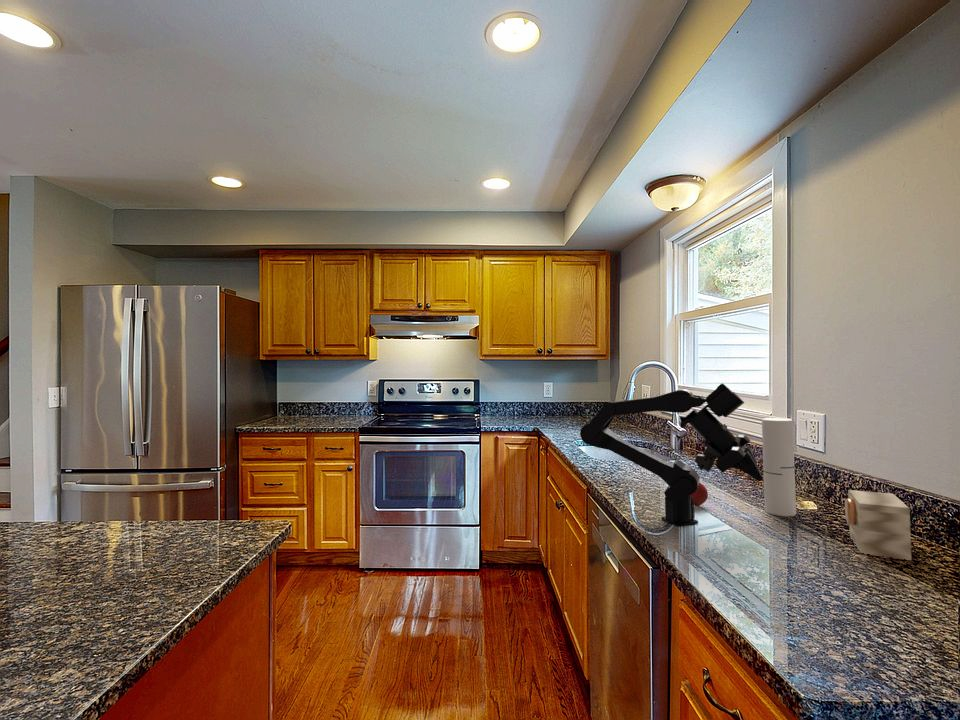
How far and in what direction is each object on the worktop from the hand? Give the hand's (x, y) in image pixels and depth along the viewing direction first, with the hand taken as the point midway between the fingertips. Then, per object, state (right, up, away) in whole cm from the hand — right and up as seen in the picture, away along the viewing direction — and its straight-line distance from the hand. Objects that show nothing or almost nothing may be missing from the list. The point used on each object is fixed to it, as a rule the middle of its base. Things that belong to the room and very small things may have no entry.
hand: (761, 480), depth 113 cm
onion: (-6, -13, +21) cm, 26 cm away
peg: (+18, -8, -10) cm, 22 cm away
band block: (+19, -12, -11) cm, 25 cm away
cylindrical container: (+14, -13, +15) cm, 24 cm away
